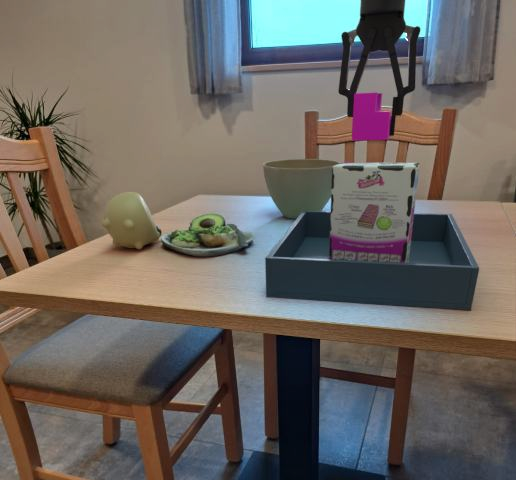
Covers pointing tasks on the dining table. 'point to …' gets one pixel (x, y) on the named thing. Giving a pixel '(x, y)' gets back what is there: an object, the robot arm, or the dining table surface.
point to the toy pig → (130, 221)
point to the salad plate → (207, 237)
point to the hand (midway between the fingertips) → (372, 135)
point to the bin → (375, 267)
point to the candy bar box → (372, 211)
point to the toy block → (370, 118)
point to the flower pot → (299, 184)
